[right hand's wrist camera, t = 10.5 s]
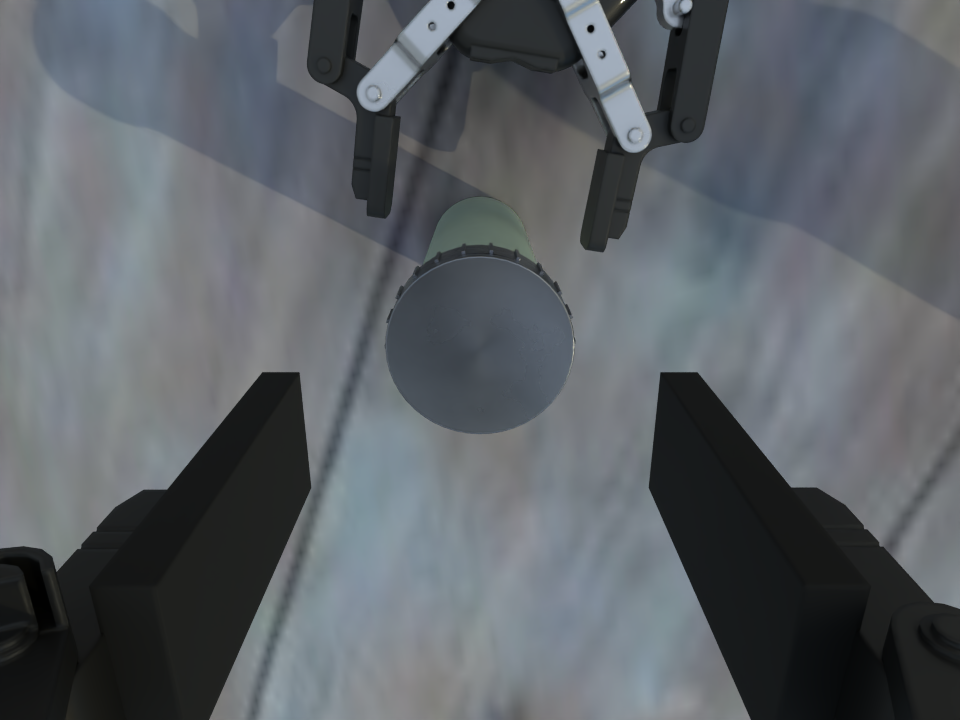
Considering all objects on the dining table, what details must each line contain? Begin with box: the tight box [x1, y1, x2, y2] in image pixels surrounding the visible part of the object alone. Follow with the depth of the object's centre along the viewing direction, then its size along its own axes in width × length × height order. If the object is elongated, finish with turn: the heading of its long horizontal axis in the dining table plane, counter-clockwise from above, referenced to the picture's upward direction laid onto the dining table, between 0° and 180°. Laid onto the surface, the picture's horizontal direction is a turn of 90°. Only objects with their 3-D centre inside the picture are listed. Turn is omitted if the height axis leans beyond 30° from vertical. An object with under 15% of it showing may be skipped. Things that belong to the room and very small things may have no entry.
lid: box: [385, 243, 575, 434], centre depth 20 cm, size 5×6×2 cm
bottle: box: [423, 197, 537, 264], centre depth 26 cm, size 5×5×15 cm
